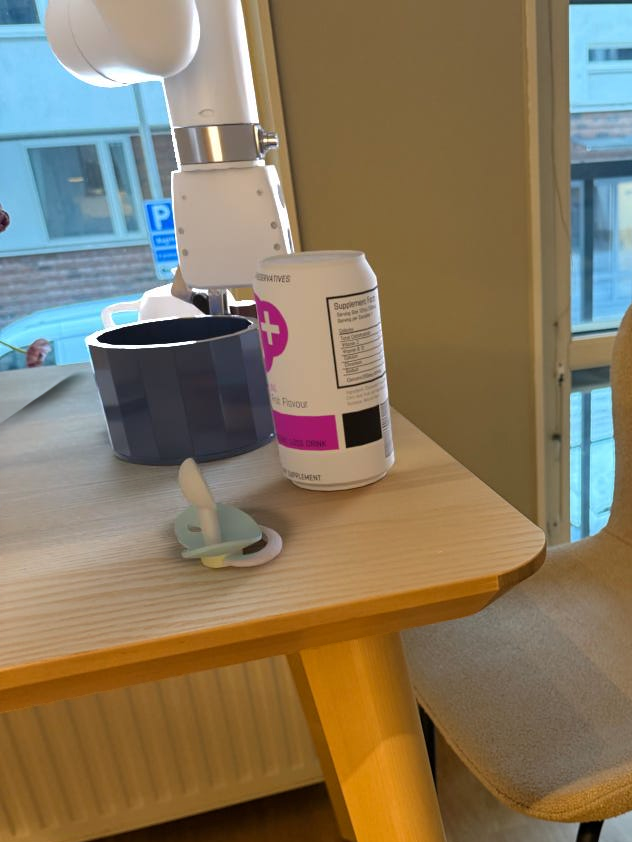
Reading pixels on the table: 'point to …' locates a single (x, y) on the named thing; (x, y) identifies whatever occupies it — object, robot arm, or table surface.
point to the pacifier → (218, 527)
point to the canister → (183, 388)
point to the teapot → (156, 306)
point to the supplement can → (325, 367)
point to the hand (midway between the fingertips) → (254, 361)
